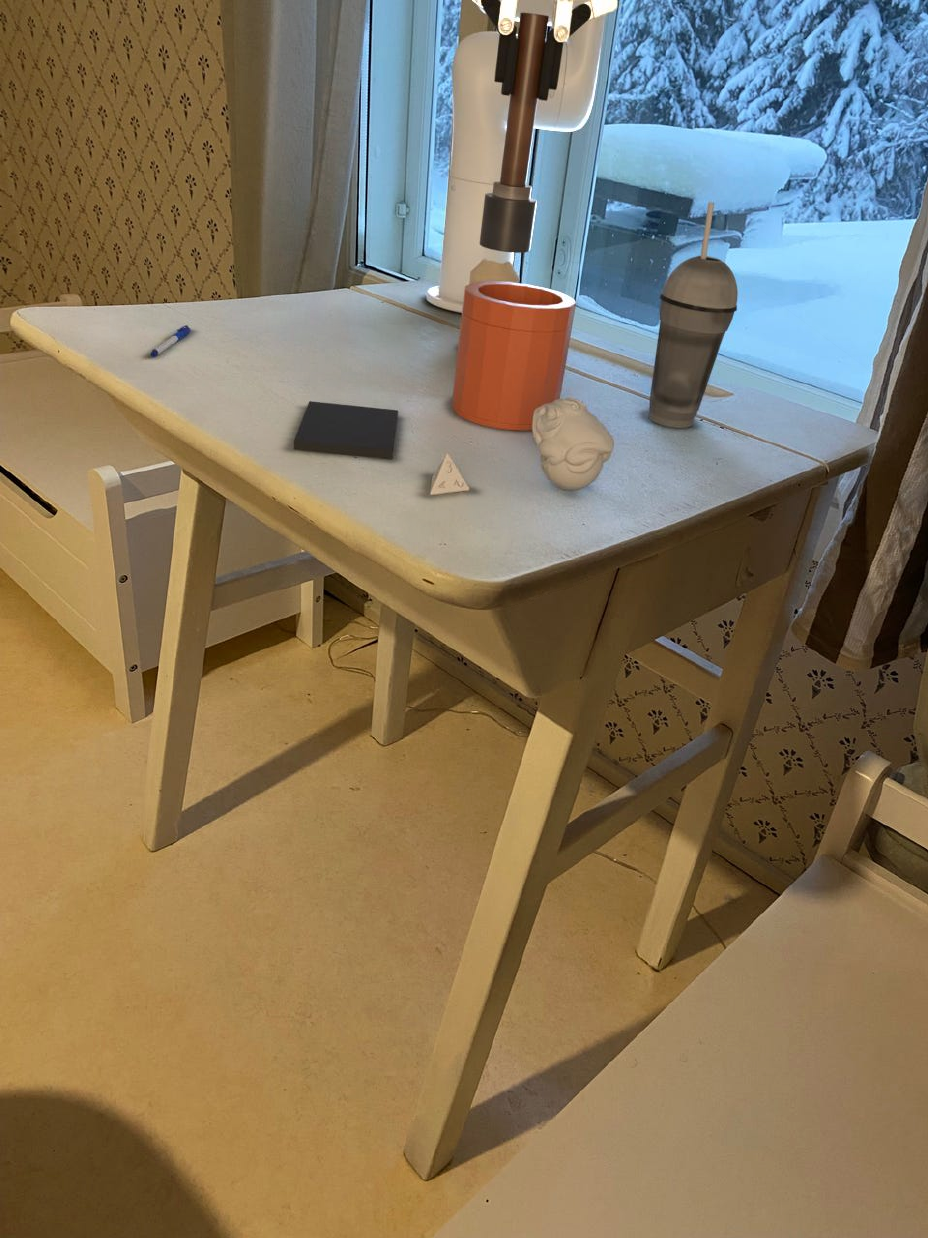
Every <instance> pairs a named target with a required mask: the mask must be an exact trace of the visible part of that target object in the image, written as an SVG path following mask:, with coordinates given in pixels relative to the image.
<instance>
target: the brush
mask: <svg viewBox="0 0 928 1238" xmlns="http://www.w3.org/2000/svg"><path fill="white" fill-rule="evenodd" d="M548 19H549V17H548V16H545V15H539V14H532V13H520V21H518V28H517V34H518V38H517V39H519V43H518V51H517V59H516V67H515V75H514V83H513V91H512V94H511V95H510V103H509V111H508V119H507V128H506V136H505V144H504V152H503V160H502V169H501V177H500V181H496V182H494V185H493V193H487V194H485V200H484V209H483V218H482V226H481V235H480V245H481V246H483V247H485V248H488V249H492V250H497V251H503V252H512V253H514V254H522V253H523V254H524V253H528V252H530V251H531V246H532V238H533V231H534V225H535V217H536V212H537V211H536V210H537V204H538V203H537V202H538V201H537V199H535V198H533V197H531V196H532V186H531V185H529V184H527V180H528V172H529V165H530V158H531V151H532V143H533V137H534V130H535V128H534V122H535V115H536V107H537V100H538V90H539V83H540V75H541V68H542V60H543V53H544V45H545V41H546V38H547V33H548V27H549V26H548Z"/></svg>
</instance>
